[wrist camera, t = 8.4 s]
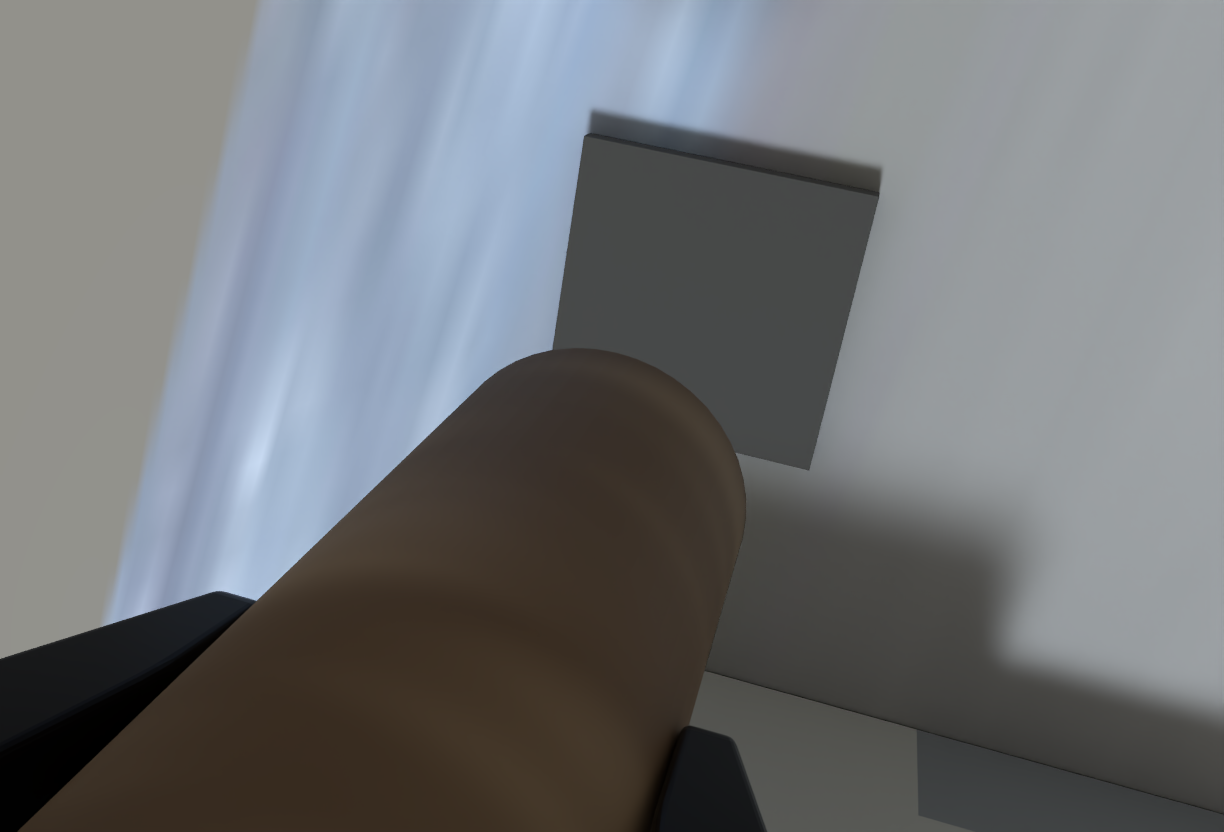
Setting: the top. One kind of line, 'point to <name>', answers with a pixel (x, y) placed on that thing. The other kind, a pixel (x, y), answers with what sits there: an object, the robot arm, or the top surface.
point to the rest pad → (717, 283)
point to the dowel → (463, 633)
